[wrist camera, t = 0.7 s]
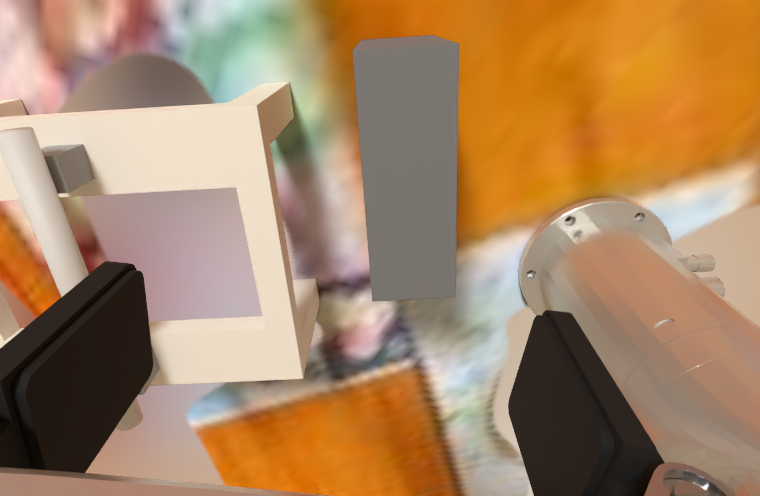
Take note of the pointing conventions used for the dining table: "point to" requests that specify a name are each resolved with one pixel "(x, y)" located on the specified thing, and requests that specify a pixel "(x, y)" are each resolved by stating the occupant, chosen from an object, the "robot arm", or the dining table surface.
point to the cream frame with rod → (170, 173)
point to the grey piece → (409, 163)
